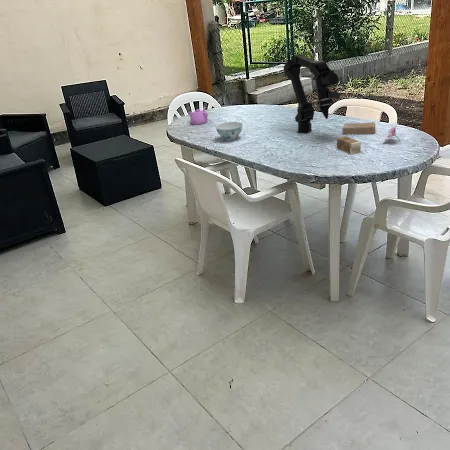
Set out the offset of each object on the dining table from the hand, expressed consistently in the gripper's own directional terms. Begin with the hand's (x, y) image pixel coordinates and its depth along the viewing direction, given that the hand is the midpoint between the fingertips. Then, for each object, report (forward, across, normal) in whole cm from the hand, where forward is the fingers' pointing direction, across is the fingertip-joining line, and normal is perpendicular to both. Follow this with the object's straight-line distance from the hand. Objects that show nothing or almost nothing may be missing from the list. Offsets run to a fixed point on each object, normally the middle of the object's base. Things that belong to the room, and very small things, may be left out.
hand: (326, 118), depth 229 cm
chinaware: (+1, +17, +53) cm, 55 cm away
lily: (+17, -9, -28) cm, 34 cm away
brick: (+12, +11, -16) cm, 23 cm away
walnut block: (+12, -12, -4) cm, 17 cm away
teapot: (-11, +58, +76) cm, 96 cm away
